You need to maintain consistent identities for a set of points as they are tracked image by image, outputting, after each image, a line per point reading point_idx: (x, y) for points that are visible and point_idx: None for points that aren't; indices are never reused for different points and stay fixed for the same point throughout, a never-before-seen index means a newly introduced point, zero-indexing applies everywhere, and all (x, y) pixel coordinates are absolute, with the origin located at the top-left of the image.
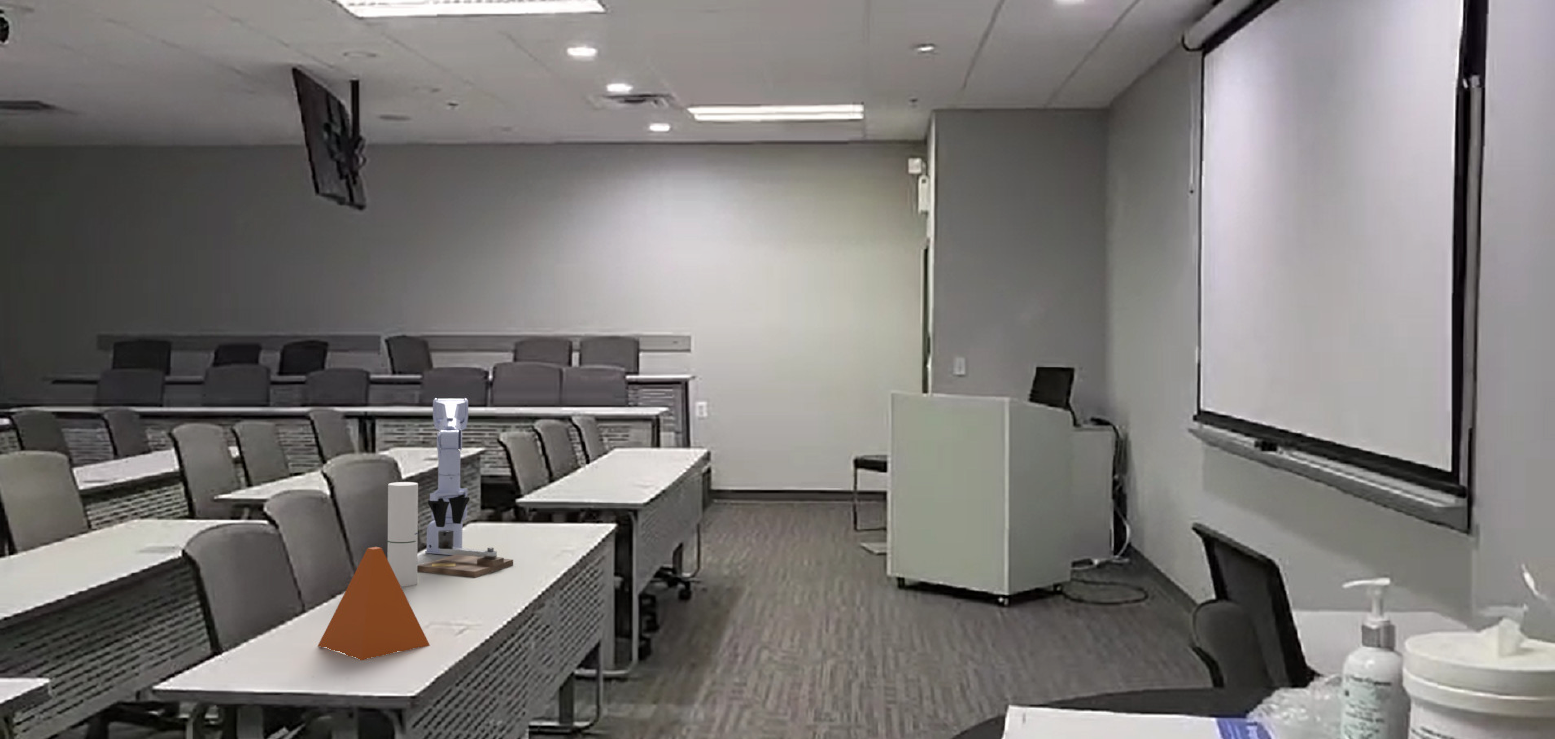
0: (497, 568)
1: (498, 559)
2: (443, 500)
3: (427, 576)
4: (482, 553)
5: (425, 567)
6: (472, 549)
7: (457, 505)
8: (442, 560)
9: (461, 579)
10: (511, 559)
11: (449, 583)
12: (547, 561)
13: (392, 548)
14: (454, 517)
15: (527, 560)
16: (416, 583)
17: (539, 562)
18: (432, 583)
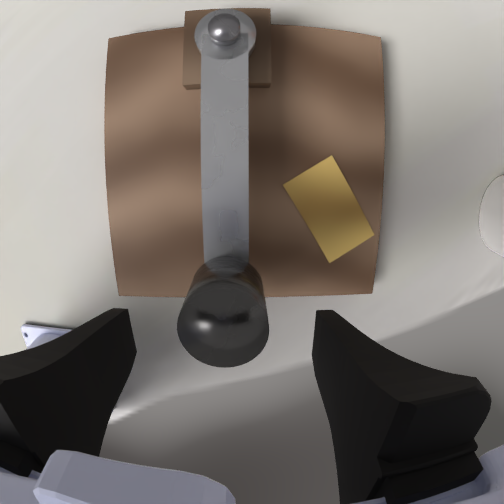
0: None
1: None
2: (397, 472)
3: (421, 203)
4: (247, 63)
5: (376, 255)
6: (209, 143)
7: (74, 414)
8: None
9: (417, 73)
10: (108, 45)
11: (469, 86)
12: (32, 14)
13: None
14: (121, 368)
15: (33, 69)
16: (500, 176)
17: (50, 18)
18: (486, 134)
